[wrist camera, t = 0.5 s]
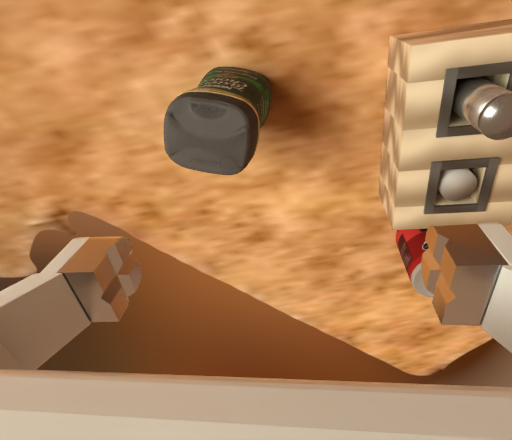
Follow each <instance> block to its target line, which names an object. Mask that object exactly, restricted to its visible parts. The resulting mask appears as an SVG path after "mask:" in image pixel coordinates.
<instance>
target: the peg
mask: <svg viewBox="0 0 512 440" xmlns="http://www.w3.org/2000/svg"><path fill="white" fill-rule="evenodd" d="M451 110H452V111H454V112H455V113H456V114H458V115H459V116H460V117H461V118H463V119H464V120H465V121H467V122H468V123H469V124H471V125H472V126H473V127H474V128H476V129H477V130H478V131H480V132H481V133H482V134H483V135H485V136H486V137H488V138H490V139H493V140H504V139H507V138H510V137H512V91H510V90H508V89H505V88H503V87H501V86H499V85H497V84H495V83H492V82H490V81H488V80H486V79H484V78H482V77H471V78H462V79H457V80H456V86H455V92H454V97H453V103H452V109H451Z"/></svg>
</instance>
